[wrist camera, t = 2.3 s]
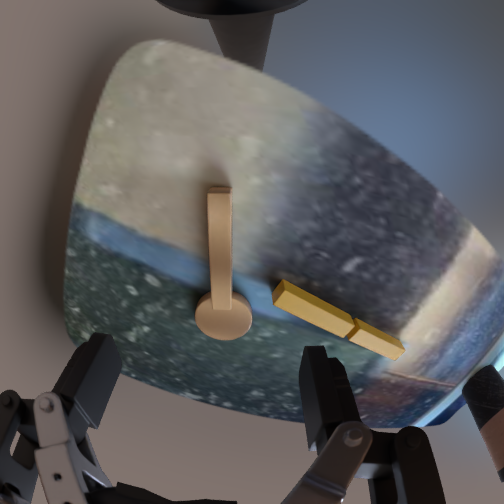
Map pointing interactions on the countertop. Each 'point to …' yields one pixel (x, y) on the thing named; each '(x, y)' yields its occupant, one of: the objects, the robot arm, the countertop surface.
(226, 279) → the spoon
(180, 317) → the countertop surface
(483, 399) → the travel mug
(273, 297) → the bar
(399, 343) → the bar
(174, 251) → the countertop surface
